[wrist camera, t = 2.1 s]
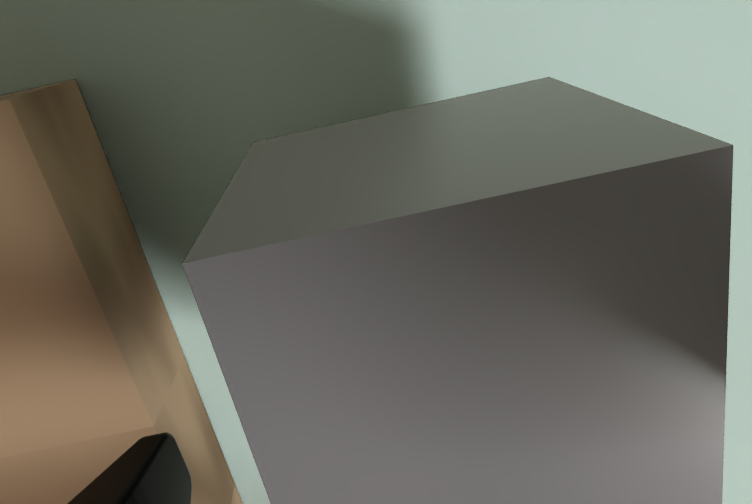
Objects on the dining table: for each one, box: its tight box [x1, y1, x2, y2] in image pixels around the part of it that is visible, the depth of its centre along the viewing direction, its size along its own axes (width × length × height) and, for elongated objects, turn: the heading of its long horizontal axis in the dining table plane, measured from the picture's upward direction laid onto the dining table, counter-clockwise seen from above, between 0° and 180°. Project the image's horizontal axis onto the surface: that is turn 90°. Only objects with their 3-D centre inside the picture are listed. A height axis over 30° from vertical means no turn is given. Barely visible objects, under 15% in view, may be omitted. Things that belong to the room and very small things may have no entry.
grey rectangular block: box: [182, 77, 733, 504], centre depth 12 cm, size 6×6×8 cm
